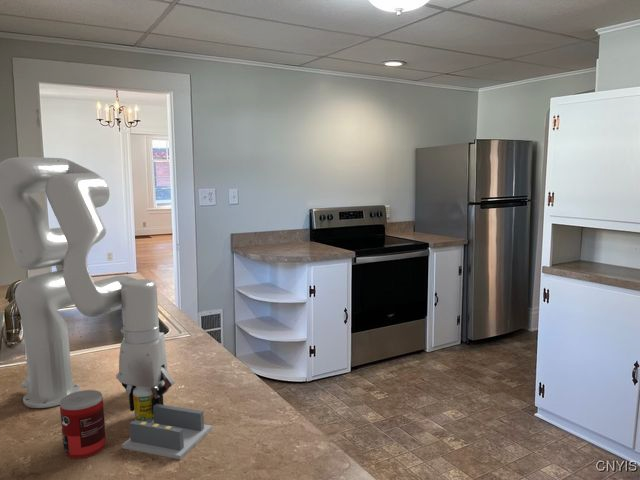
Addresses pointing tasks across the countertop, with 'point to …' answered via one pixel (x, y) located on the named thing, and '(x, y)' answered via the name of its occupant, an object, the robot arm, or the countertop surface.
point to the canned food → (83, 423)
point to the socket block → (168, 432)
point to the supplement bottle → (143, 404)
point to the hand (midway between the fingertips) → (146, 409)
